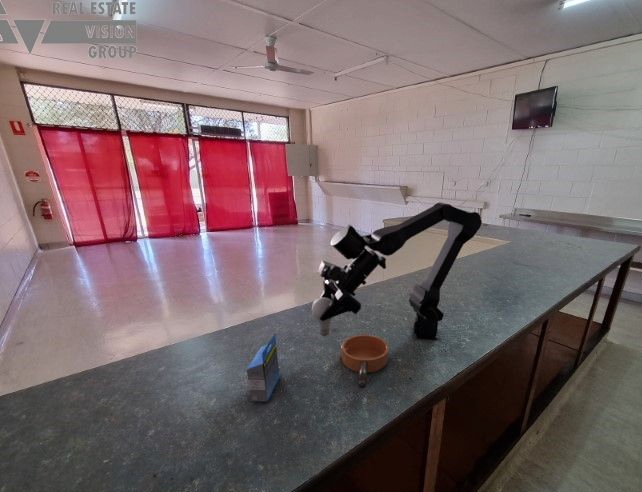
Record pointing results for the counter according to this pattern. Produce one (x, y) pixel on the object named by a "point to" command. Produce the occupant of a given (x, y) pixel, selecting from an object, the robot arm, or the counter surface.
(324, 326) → the lightbulb
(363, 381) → the handle
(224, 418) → the counter surface
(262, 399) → the blue cardboard box
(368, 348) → the orange round dish
